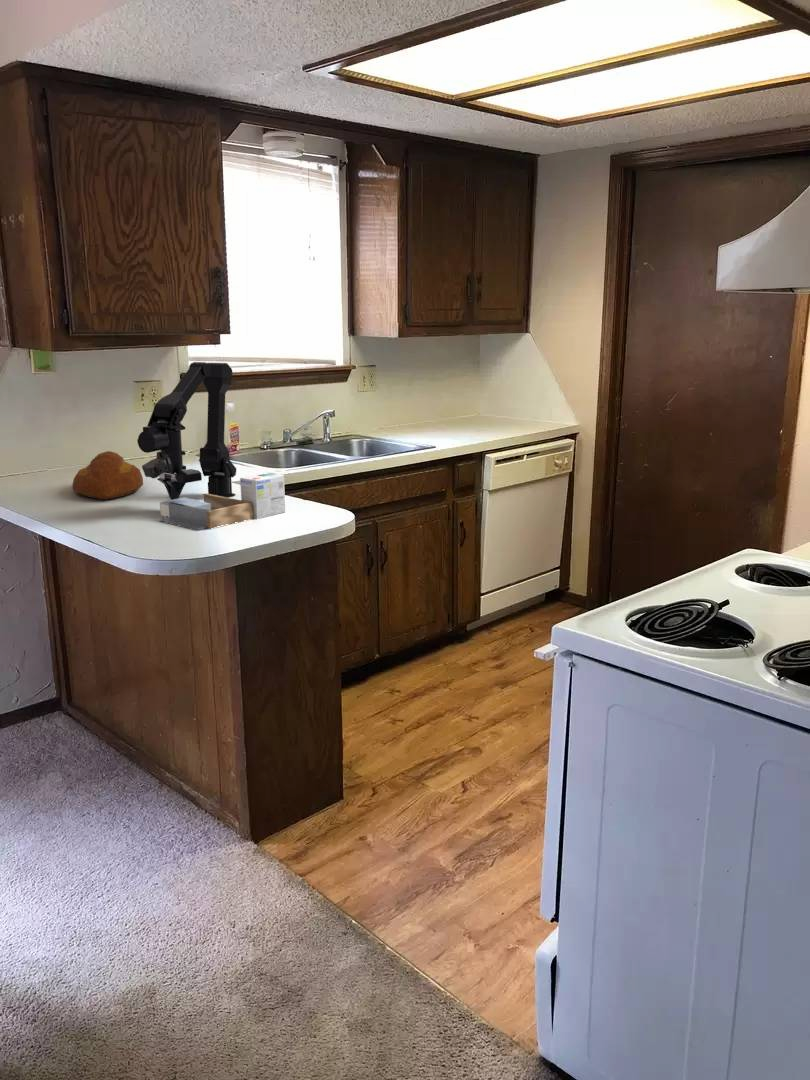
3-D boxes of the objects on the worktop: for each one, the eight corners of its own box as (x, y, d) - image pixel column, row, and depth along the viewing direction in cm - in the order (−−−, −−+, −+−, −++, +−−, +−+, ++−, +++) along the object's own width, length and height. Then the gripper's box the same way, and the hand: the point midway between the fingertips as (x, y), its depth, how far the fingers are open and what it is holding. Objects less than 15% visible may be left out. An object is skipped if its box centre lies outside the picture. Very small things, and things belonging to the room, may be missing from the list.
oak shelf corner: (207, 509, 243) (206, 493, 241) (253, 518, 231) (252, 502, 230) (165, 518, 232) (163, 501, 231) (210, 529, 220) (209, 511, 219)
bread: (148, 480, 284) (145, 443, 281) (139, 501, 253) (136, 459, 250) (81, 483, 280) (77, 445, 277) (64, 504, 249) (59, 462, 246)
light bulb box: (270, 509, 243) (268, 471, 240) (286, 512, 239) (285, 474, 236) (240, 515, 235) (238, 477, 232) (257, 519, 231) (255, 480, 228)
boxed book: (185, 511, 242) (184, 497, 241) (211, 517, 234) (210, 503, 233) (160, 516, 236) (159, 502, 235) (186, 523, 228) (185, 508, 227)
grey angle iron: (173, 518, 231) (172, 502, 230) (211, 527, 222) (210, 510, 221) (160, 521, 228) (158, 504, 227) (198, 530, 219) (197, 513, 217)
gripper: (125, 447, 235) (129, 503, 239) (166, 454, 224) (170, 513, 228) (160, 443, 244) (163, 497, 248) (201, 450, 232) (204, 506, 236)
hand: (174, 503), depth 240 cm, fingers closed
